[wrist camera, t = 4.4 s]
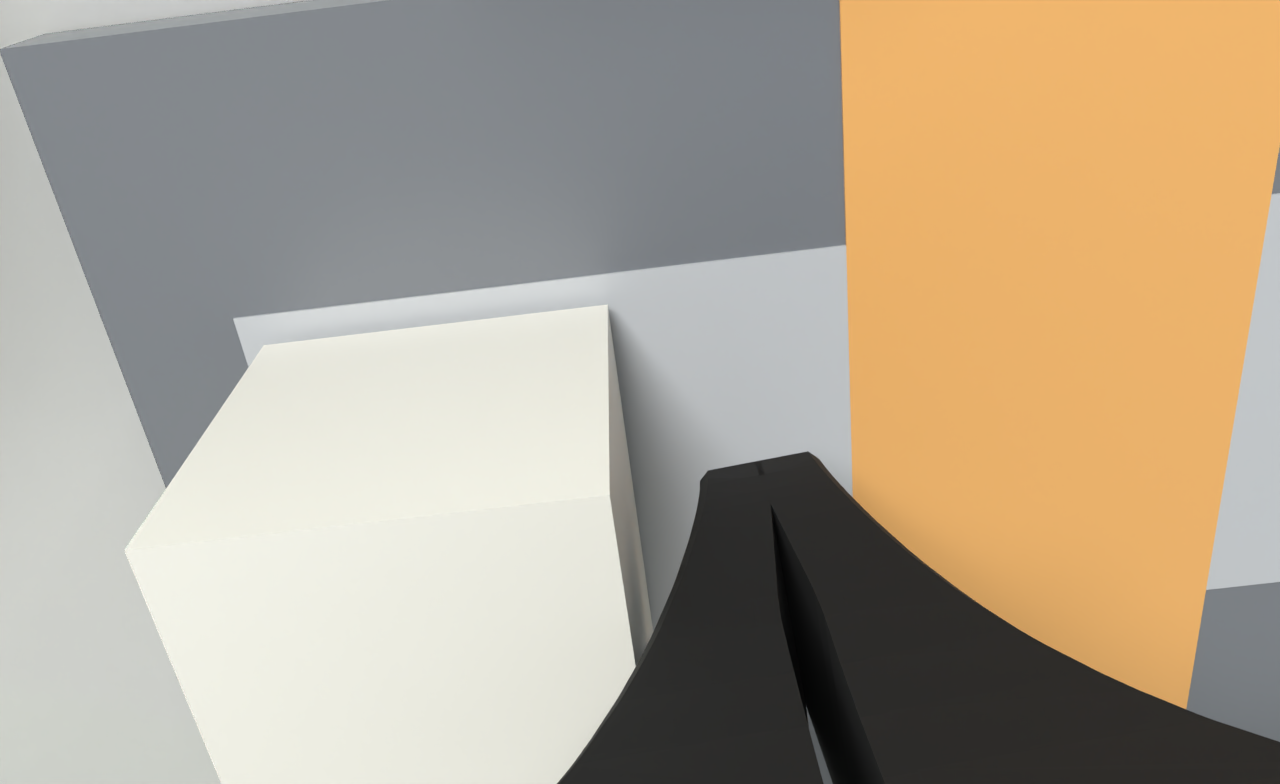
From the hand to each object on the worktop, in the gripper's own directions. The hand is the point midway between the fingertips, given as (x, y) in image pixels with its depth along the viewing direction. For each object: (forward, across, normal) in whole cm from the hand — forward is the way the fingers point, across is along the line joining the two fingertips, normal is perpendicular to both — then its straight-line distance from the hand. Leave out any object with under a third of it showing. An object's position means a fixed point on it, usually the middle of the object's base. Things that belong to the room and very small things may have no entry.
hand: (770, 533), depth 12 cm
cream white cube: (+1, +4, 0) cm, 4 cm away
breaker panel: (+2, -1, 0) cm, 3 cm away
